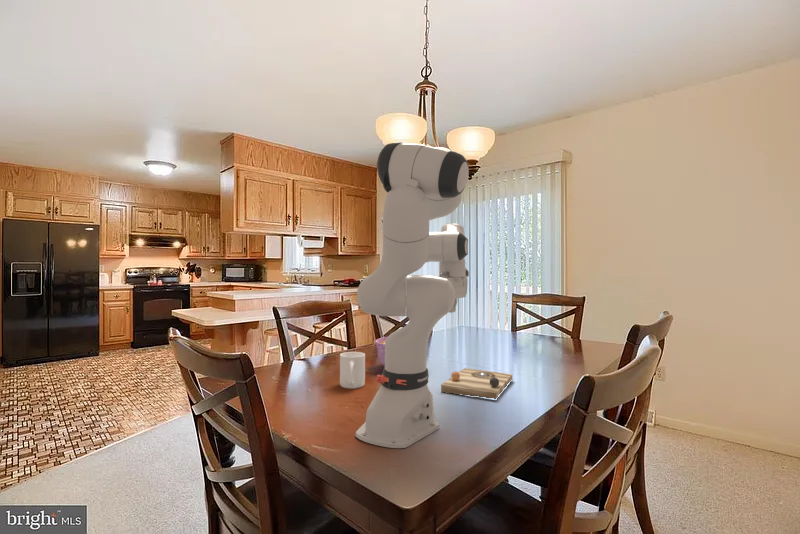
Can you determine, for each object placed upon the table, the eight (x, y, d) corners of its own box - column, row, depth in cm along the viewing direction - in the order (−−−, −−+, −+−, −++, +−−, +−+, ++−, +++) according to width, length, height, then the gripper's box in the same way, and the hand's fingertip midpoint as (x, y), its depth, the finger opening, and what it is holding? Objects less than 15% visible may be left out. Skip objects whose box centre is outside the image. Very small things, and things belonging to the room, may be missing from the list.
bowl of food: (426, 364, 168) (426, 336, 167) (424, 377, 148) (424, 346, 148) (379, 362, 169) (379, 335, 169) (371, 375, 150) (371, 344, 150)
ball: (487, 385, 140) (485, 377, 139) (477, 383, 142) (476, 376, 140) (489, 378, 143) (488, 371, 141) (479, 377, 144) (478, 369, 143)
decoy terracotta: (458, 382, 133) (458, 373, 133) (449, 380, 135) (449, 371, 135) (461, 379, 136) (461, 371, 136) (452, 378, 137) (453, 369, 137)
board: (495, 401, 122) (495, 393, 122) (441, 392, 130) (441, 384, 130) (512, 381, 143) (512, 374, 143) (464, 374, 151) (464, 368, 151)
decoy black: (497, 388, 126) (497, 379, 126) (488, 387, 127) (488, 378, 127) (500, 386, 129) (500, 377, 129) (490, 384, 130) (491, 375, 130)
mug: (337, 392, 129) (337, 359, 129) (341, 381, 141) (341, 351, 141) (363, 392, 130) (363, 359, 130) (365, 381, 142) (365, 351, 142)
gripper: (449, 271, 125) (449, 315, 125) (470, 271, 143) (470, 310, 143) (431, 271, 128) (430, 314, 128) (454, 271, 146) (453, 309, 146)
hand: (451, 312), depth 136 cm, fingers closed
